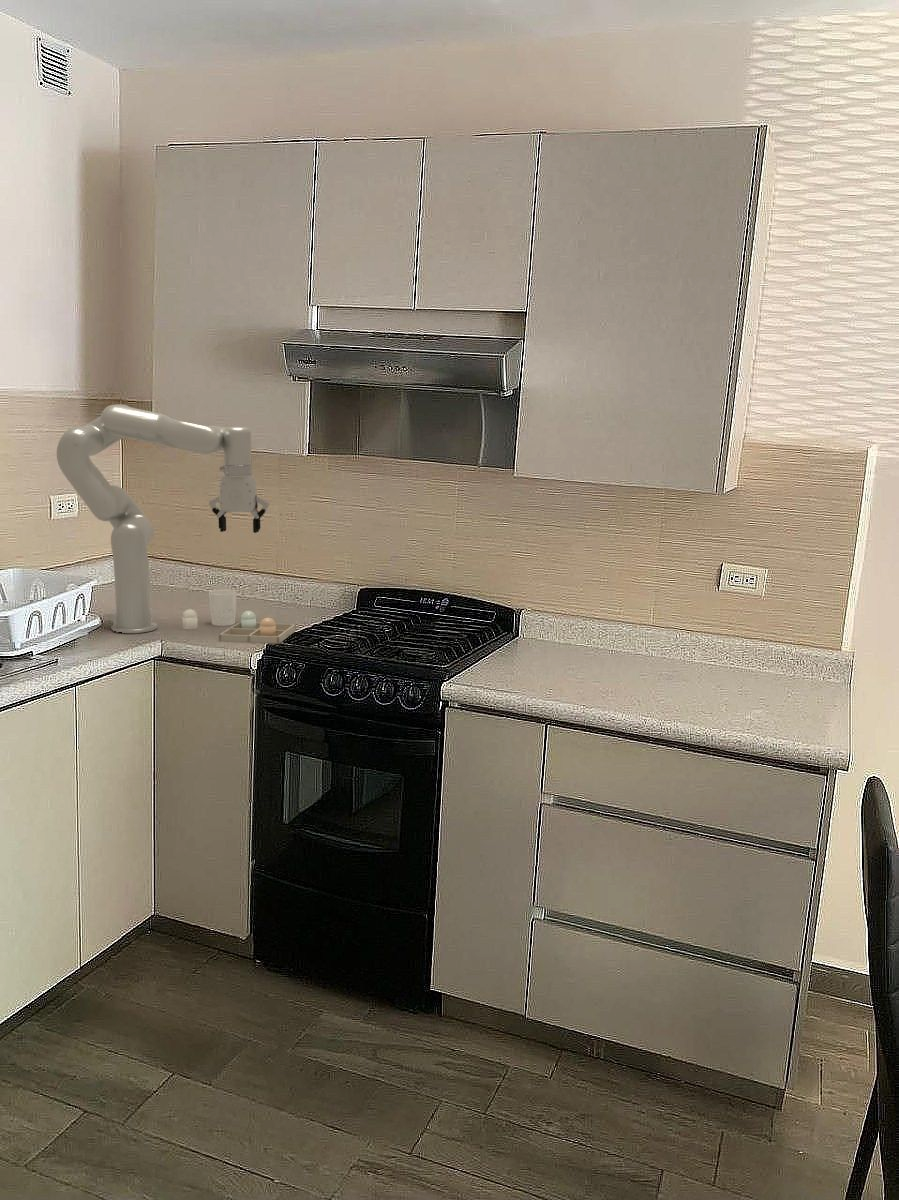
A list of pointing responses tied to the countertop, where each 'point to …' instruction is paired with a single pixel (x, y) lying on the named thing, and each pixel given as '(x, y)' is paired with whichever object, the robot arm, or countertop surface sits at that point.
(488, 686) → the countertop surface
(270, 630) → the brown egg
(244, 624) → the green egg
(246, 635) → the egg tray
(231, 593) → the white cup
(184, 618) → the white egg
